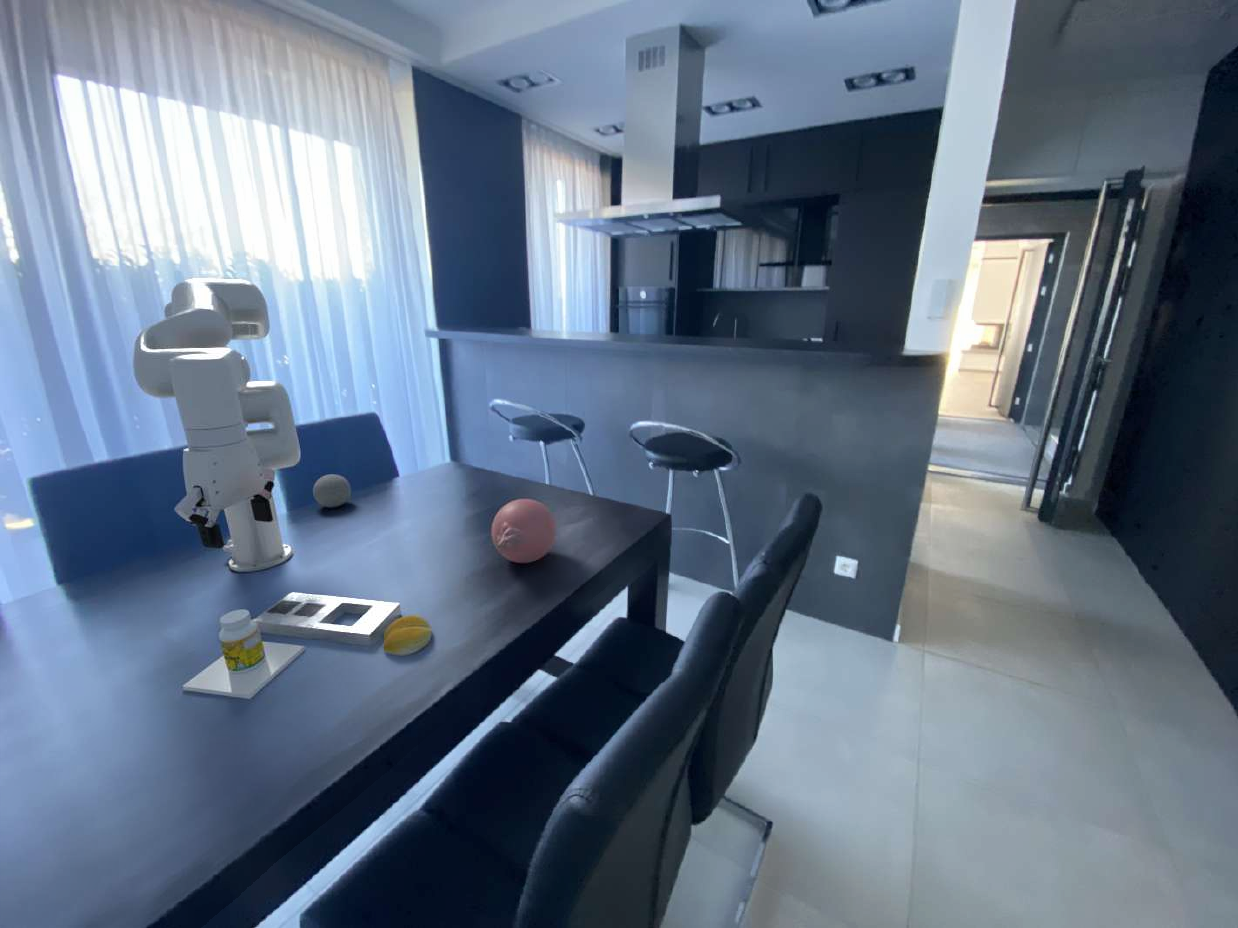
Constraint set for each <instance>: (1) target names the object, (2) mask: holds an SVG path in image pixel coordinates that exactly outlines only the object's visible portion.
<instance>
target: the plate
mask: <svg viewBox="0 0 1238 928" xmlns="http://www.w3.org/2000/svg"><path fill="white" fill-rule="evenodd" d="M262 643H263V647H264V651H265V655H266V657H265V660H264V662H263V663H262V664H261V665H260V666H258V667H257V668H255V669H253V670H251V671H249V672H245V673H239V674H235V673H231V672H229V671H228V668H227V665H226V661H225V658H224V655H222V656H221V657H219V658H218V659H216V660H215V661H214V662H212V664H210V665H208V666H207V667H205V668H204V669H203V670H201V672H199V673H197V675H195V676H194V677H192V678H190V680H189V681H187V682H186V683H184V684H183V685H182V689H183V690H184V691H189V692H196V693H201V694H202V693H203V694H211V695H219V696H226V697H232V698H240V699H247V700H251V699H252V698H253V697H254V696H255V695H257V693H258V692H260V690H261V689H263V688H264V687H265V686H266V685H267V684H268V683H269V682H271V681H272V680H273V679H274V678H275V677H276V676H278V675H279V674H280V673H281V672H282V671H283V670H284V669H286V668H287V666H289V665H290V664H291V663H292V662H293V661H295V660H296V659H297V658H298V657H299V656H301V654H302V653H303V652H304V651H305V650H306V648H305V646H304V645H299V644H297V645H296V644H290V643H289V644H288V643H281V642H280V643H279V642H272V641H264V640H262Z"/></svg>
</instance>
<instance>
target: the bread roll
mask: <svg viewBox="0 0 1238 928" xmlns="http://www.w3.org/2000/svg"><path fill="white" fill-rule="evenodd" d="M432 634H433V633H432V629H431V625H430V623H429V622H428V621H427V620H426V619H424V617H420V616H418V615H406V616H402V617H398V618H397V619H396V620H395V621H394V622H393V623H391V624H390V625H389V626H388V627H387V629H386V631H385V632H384V633H383V635H384V637H383V638H384V642H383V645H382V648H383V650H384V652H385V653H387V654H389V655H393V656H394V655H395V656H399V657H400V656H401V657H404V656H409V655H413V654H415V653H417V652H419V651H421V650H422V649H423V648H424V647H425V646H427V645H428V644H429V643H430V641H431V637H432Z"/></svg>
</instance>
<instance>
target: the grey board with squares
mask: <svg viewBox="0 0 1238 928" xmlns="http://www.w3.org/2000/svg"><path fill="white" fill-rule="evenodd" d="M343 614H353V615H362V617H360V619H358V620H357V621H356V622H355V623H354V624H353V625H352V626H347V625H339V624H333V623H334V622H335V621H337V620H338V619H339V618H340V617H341V616H342V615H343ZM401 615H402V609H401V603H400V602H388V601H380V600H379V601H378V600H371V599H361V598H351V597H341V596H333V595H321V594H313V593H312V594H311V593H303V592H293V591H292V592H290V593H288V594H287V595H286V596H284V597H283V598H282V599H280V600H279V601H278V602H276V603H274V605H272V606H270V607H269V608H268V609H266V610H265V611H263V612H262V613H261V614H260V615H258V616H257V617H255V618H254V619H253V620H254V621H255V622H256V623H257V624H258V627H259V631H260V634H265V635H266V634H267V635H275V636H282V637H283V636H284V637H294V638H299V639H301V638H302V639H309V640H311V639H312V640H319V641H325V642H326V641H327V642H335V643H336V642H337V643H344V644H354V645H361V646H362V645H363V646H370V647H371V646H372V645H373V644H375V642H376V641H377V640H378V639H379V638H380V637H381V636H382V635H384V634H385V631H386V629H387V627H388V626H389V625H390V624H391V623H393V622H394V621H395V620H397V619H399V618H400V616H401Z"/></svg>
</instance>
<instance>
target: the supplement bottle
mask: <svg viewBox="0 0 1238 928" xmlns="http://www.w3.org/2000/svg"><path fill="white" fill-rule="evenodd" d="M251 618H252V616H251V613H250V611H249V610H247V609H244V608H243V609H236V610H232V611H230V612H227V613H225V614H223V615H222V616H221V617H220V619H219V625H220V628H221V629H220V631H219V632H218V641H219V644H220V647H221V651H222V654H223V655H224V658H225V661H226V665H227V668H228V671H229V672H231V673H235V674H239V673H245V672H249V671H251V670H253V669H255V668H257V667H258V666H260V665H261V664H262V663H263V662H264V660H265V657H266V655H265V651H264V647H263V643H262V641H263V640H262V639H263V638H262V636H261V633H260V631H259V627H258V624H257V623H256V622H255V621H254V619H251ZM223 655H222V656H223Z"/></svg>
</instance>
